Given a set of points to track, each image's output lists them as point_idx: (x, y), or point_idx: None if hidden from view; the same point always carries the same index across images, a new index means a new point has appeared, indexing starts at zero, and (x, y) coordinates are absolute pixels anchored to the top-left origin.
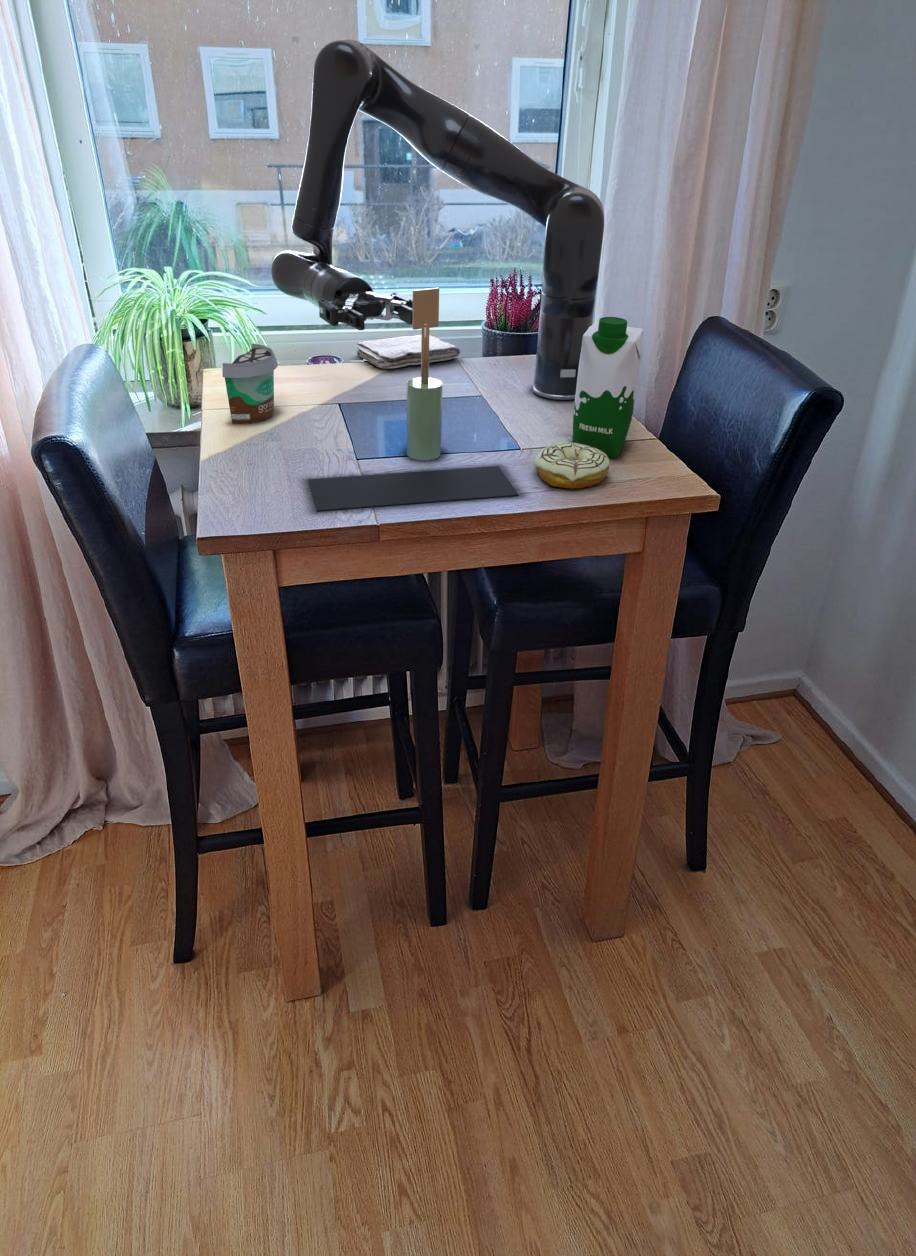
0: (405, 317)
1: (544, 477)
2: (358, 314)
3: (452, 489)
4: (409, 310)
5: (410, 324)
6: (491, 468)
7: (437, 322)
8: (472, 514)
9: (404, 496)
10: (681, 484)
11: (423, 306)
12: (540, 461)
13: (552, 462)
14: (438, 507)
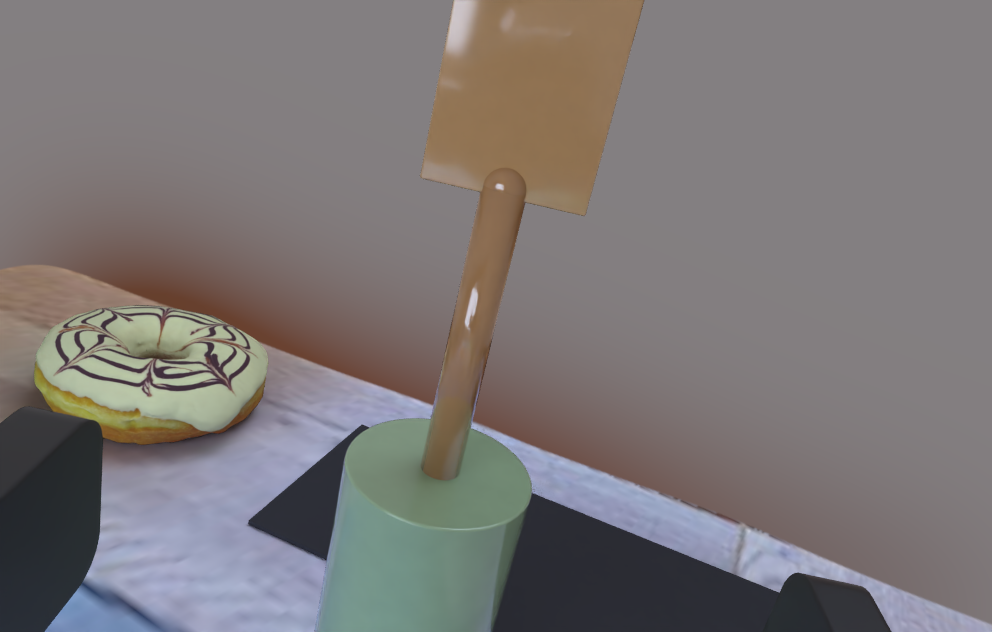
0: (6, 620)
1: (259, 399)
2: (873, 618)
3: None
4: (77, 435)
5: (78, 573)
6: (282, 523)
7: (433, 151)
8: (519, 444)
9: (633, 561)
10: (14, 284)
11: (554, 70)
12: (244, 383)
13: (249, 354)
14: (572, 496)
